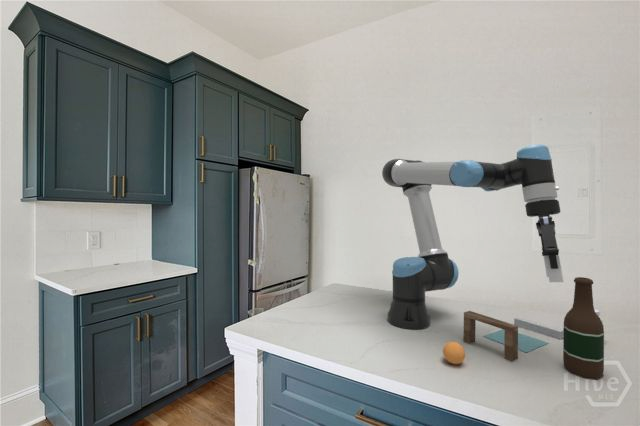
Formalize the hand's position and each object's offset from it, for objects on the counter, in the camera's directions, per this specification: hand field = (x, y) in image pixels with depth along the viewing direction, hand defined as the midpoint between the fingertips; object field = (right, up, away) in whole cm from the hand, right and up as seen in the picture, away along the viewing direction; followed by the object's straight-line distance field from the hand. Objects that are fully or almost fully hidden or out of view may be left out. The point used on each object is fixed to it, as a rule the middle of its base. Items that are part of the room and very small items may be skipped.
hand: (554, 279), depth 80 cm
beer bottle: (+5, -23, -3) cm, 24 cm away
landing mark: (0, -23, +16) cm, 28 cm away
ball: (-26, -20, +1) cm, 33 cm away
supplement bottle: (+24, -23, +16) cm, 37 cm away
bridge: (-12, -23, +9) cm, 28 cm away
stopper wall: (+12, -23, +23) cm, 35 cm away
